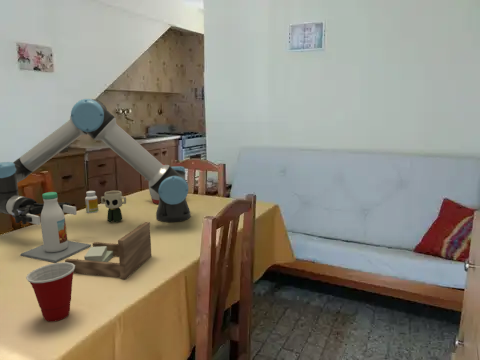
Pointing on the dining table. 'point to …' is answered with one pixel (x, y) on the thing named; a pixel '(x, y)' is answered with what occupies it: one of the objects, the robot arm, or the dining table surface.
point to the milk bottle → (53, 224)
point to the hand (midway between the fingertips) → (58, 215)
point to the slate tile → (55, 256)
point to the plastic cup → (53, 289)
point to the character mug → (113, 205)
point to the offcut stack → (98, 254)
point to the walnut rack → (120, 255)
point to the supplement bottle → (91, 202)
